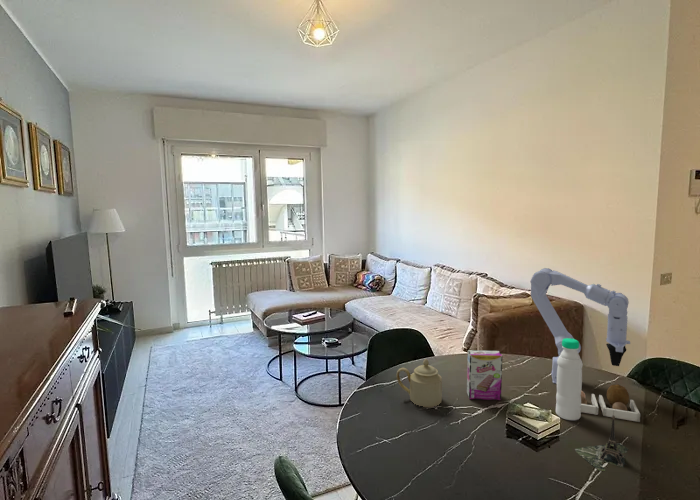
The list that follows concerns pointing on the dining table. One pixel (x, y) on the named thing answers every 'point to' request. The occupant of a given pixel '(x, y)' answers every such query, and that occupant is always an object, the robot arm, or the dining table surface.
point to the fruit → (617, 394)
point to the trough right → (620, 411)
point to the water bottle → (569, 381)
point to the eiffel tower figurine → (604, 452)
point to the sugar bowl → (423, 385)
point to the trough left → (590, 407)
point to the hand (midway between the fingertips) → (615, 365)
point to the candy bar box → (484, 375)
